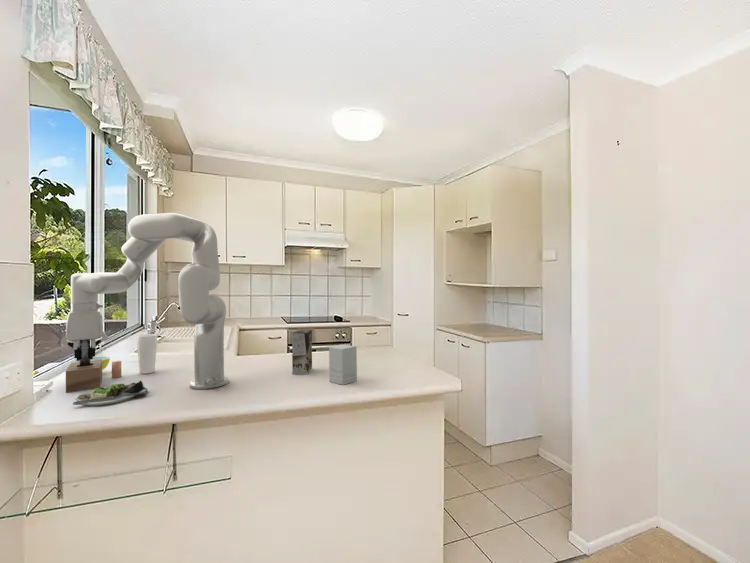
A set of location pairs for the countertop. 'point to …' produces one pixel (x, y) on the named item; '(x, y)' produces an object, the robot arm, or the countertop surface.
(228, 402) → the countertop surface
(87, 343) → the long pin
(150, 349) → the drinking glass
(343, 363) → the supplement box
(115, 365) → the short pin
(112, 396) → the salad plate
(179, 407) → the countertop surface
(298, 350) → the coffee box
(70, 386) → the brown slotted box
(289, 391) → the countertop surface
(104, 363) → the bowl
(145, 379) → the countertop surface
